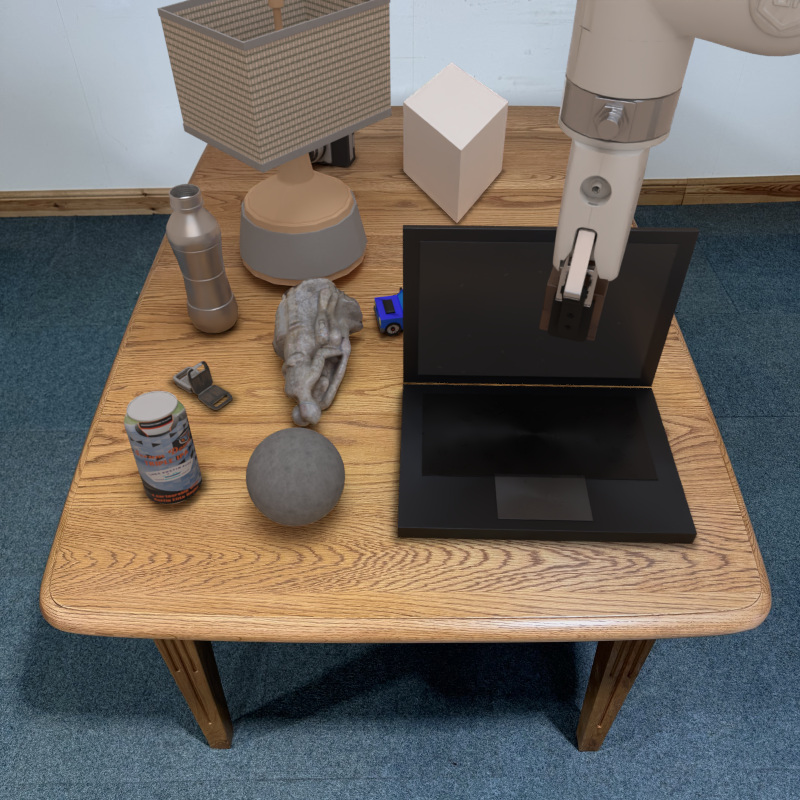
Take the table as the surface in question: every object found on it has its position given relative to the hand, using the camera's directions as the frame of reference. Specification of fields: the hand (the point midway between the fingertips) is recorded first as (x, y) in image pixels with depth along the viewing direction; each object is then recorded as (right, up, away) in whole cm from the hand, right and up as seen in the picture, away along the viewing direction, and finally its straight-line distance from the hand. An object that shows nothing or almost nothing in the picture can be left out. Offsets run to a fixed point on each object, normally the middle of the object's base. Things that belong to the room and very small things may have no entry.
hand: (572, 315), depth 62 cm
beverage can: (-39, -17, +18) cm, 46 cm away
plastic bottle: (-40, +3, +37) cm, 55 cm away
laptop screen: (+1, +2, +19) cm, 19 cm away
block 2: (0, 0, 0) cm, 0 cm away
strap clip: (-39, -6, +28) cm, 49 cm away
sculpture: (-25, -5, +29) cm, 39 cm away
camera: (-31, +36, +70) cm, 85 cm away
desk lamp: (-29, +14, +48) cm, 58 cm away
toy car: (-12, +4, +38) cm, 40 cm away
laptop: (0, -14, +20) cm, 24 cm away
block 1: (-5, +34, +68) cm, 76 cm away
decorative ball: (-25, -19, +16) cm, 35 cm away
